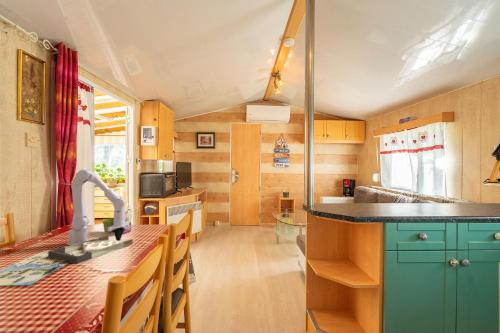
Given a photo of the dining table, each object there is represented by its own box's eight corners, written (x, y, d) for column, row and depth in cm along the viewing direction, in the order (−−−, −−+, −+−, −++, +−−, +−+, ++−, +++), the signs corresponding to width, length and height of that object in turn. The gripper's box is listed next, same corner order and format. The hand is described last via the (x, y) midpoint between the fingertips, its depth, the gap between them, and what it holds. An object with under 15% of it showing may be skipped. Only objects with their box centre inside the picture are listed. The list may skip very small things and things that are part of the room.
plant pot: (112, 234, 179) (112, 221, 179) (98, 233, 179) (99, 220, 179) (119, 230, 188) (119, 218, 188) (106, 230, 188) (107, 218, 189)
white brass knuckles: (77, 254, 139) (86, 246, 153) (115, 252, 144) (120, 244, 158) (77, 248, 139) (86, 240, 153) (115, 246, 144) (120, 239, 158)
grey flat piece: (63, 252, 139) (63, 247, 139) (107, 240, 165) (107, 235, 165) (91, 258, 132) (91, 252, 132) (132, 244, 158) (132, 239, 158)
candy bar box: (124, 231, 188) (125, 208, 188) (131, 231, 187) (131, 208, 187) (113, 234, 177) (114, 210, 177) (120, 235, 176) (121, 211, 176)
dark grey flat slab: (48, 257, 132) (48, 251, 132) (63, 252, 139) (63, 247, 139) (77, 263, 125) (77, 257, 125) (91, 258, 132) (91, 252, 132)
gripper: (114, 220, 152) (113, 244, 152) (133, 216, 166) (132, 238, 166) (105, 219, 154) (104, 242, 154) (124, 215, 168) (123, 236, 168)
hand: (118, 240), depth 160 cm, fingers closed
